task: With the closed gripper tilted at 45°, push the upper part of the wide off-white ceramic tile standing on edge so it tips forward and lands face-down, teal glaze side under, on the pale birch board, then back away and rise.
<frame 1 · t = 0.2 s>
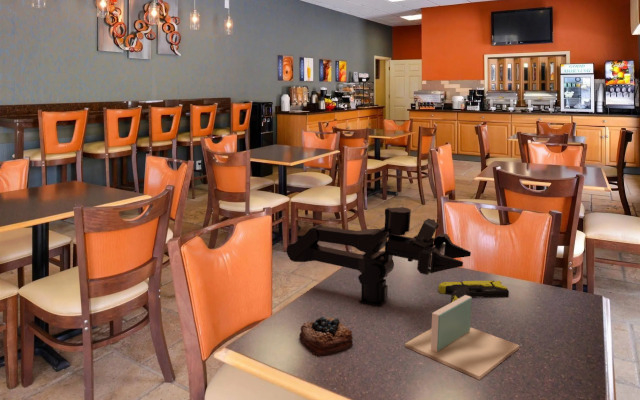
hand: (466, 259, 127), 16 cm above the table, tool horizontal, fingers open, 9 cm apart
tile: (450, 340, 118), point 1 cm above the table, touching board
board: (461, 347, 117), on the table
pastry: (325, 343, 120), on the table
stun gun: (476, 300, 144), on the table
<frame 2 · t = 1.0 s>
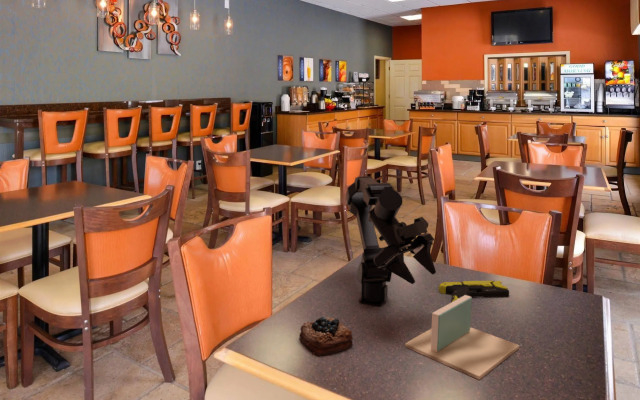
hand: (424, 278, 122), 14 cm above the table, tool tilted 45°, fingers open, 9 cm apart
nothing on the table moved.
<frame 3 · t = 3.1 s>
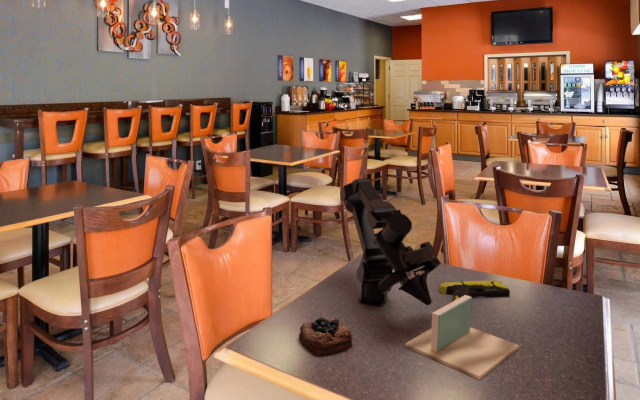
hand: (429, 304, 121), 8 cm above the table, tool tilted 45°, fingers closed
nothing on the table moved.
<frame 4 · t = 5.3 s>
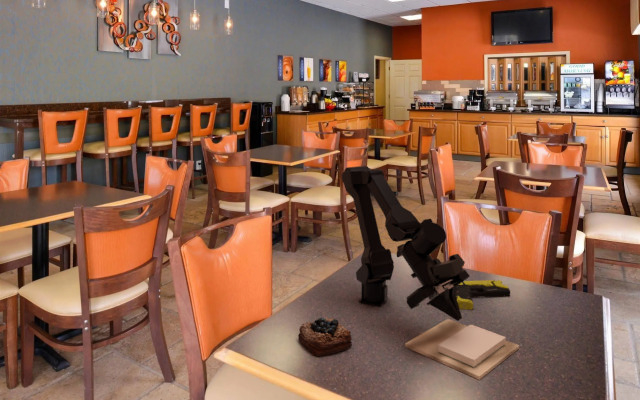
hand: (459, 319, 115), 7 cm above the table, tool tilted 45°, fingers closed
tile: (454, 337, 117), point 2 cm above the table, tilted 90°, touching board
everything else where it was.
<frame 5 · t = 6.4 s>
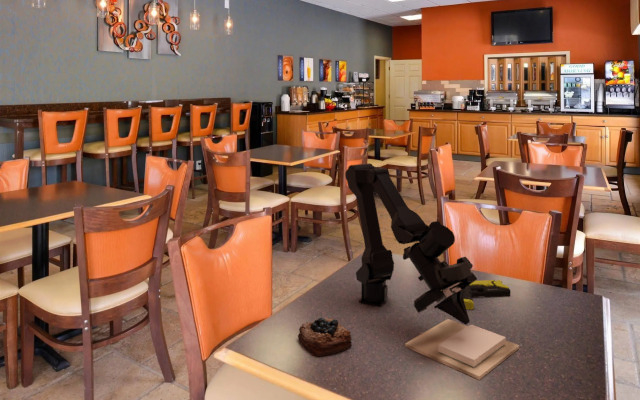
hand: (467, 323, 114), 7 cm above the table, tool tilted 45°, fingers closed
nothing on the table moved.
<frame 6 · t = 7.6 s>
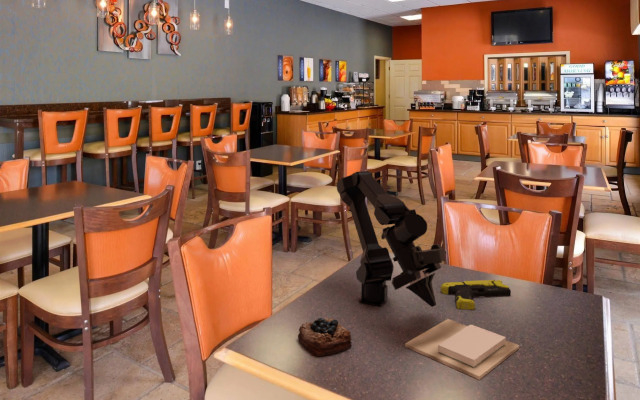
hand: (434, 305, 121), 8 cm above the table, tool tilted 35°, fingers closed
nothing on the table moved.
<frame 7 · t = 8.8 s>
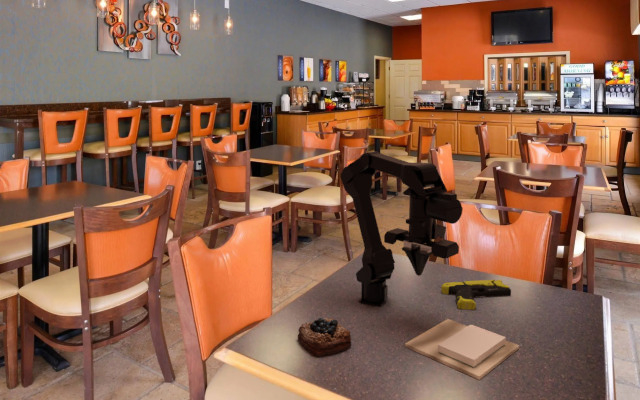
hand: (419, 275, 126), 13 cm above the table, tool pointing down, fingers closed
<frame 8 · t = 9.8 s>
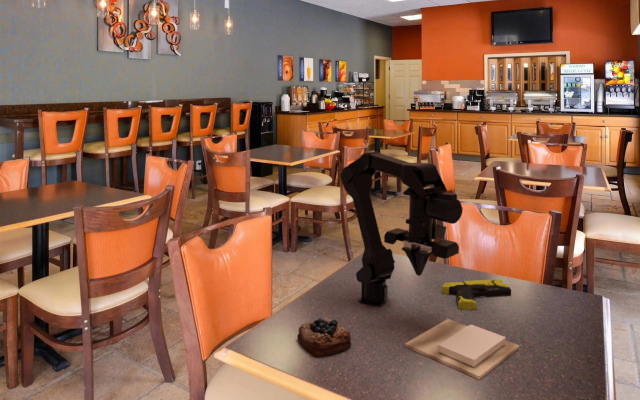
hand: (419, 275, 126), 13 cm above the table, tool pointing down, fingers closed
at the end: tile tilted 90°; tile inside the target area on the board (1.3 cm from its centre), point 1.9 cm above the board's base; tile touching board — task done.
